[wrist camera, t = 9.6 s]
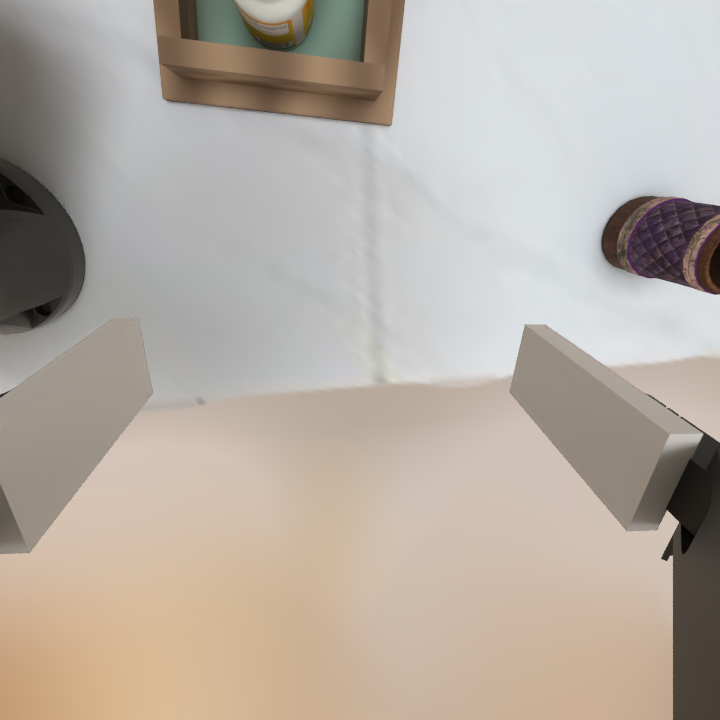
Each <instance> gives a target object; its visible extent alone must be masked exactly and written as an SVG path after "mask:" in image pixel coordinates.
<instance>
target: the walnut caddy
mask: <svg viewBox="0 0 720 720" xmlns="http://www.w3.org/2000/svg"><path fill="white" fill-rule="evenodd" d="M153 2H154V12H155V23H156V33H157V43H158V54H159V64H160V74H161V85H162V95H163V99H165V100H168V101H177V102H186V103H195V104H203V105H212V106H221V107H230V108H239V109H247V110H256V111H265V112H274V113H283V114H292V115H300V116H309V117H318V118H327V119H336V120H344V121H353V122H362V123H371V124H380V125H389V126H390V125H392V116H393V107H394V97H395V88H396V79H397V69H398V60H399V50H400V41H401V32H402V22H403V13H404V3H405V0H314V17H313V23H312V26H311V29H310V31H309V33H308V35H307V37H306V38H305V39H304V41H303V42H302V43H301V44H299V45H298V46H296V47H295V48H293V49H290V50H287V51H276V50H272V49H269V48H267V47H265V46H263V45H262V44H260V43H259V42H258V41H257V40H256V39H255V38H254V37H253V36H252V35H251V33H250V32H249V31H248V29H247V27H246V25H245V24H244V22H243V20H242V17H241V15H240V13H239V11H238V9H237V7H236V6H235V4H234V2H233V0H153Z"/></svg>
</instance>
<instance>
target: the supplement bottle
mask: <svg viewBox="0 0 720 720" xmlns="http://www.w3.org/2000/svg"><path fill="white" fill-rule="evenodd" d="M233 2H234V4H235V6H236V7H237V9H238V11H239V13H240V15H241V17H242V20H243V22H244V24H245V25H246V27H247V29H248V31H249V32H250V33H251V35H252V36H253V37H254V38H255V39H256V40H257V41H258V42H259V43H260V44H262V45H263V46H265V47H267V48H269V49H272V50H276V51H287V50H290V49H293V48H295V47H296V46H298V45H299V44H301V43H302V42H303V41H304V39H305V38H306V37H307V35H308V33H309V31H310V29H311V26H312V23H313V17H314V0H233Z"/></svg>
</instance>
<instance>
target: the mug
mask: <svg viewBox="0 0 720 720" xmlns="http://www.w3.org/2000/svg"><path fill="white" fill-rule="evenodd" d="M603 250H604V253H605V256H606V258H607V260H608V261H609V262H610V263H611V264H612V265H613V266H615V267H618V268H621V269H624V270H627V271H628V272H630V273H633V274H636V275H639V276H643V277H646V278H658V279H662V280H665V281H669V282H673V283H677V284H680V285H684V286H688V287H692V288H694V289H697V290H700V291H703V292H707V293H711V294H714V295H716V294H720V206H716V205H709V204H702V203H695V202H692V201H689V200H687V199H684V198H676V197H654V196H650V197H640V198H637V199H634V200H631V201H630V202H628V203H627V204H625V205H624V206H623V207H621V208H620V209H619V210H618V211H617V212H616V214H615V215H614V216H613V217H612V218H611V220H610V222H609V224H608V226H607V228H606V230H605V234H604V238H603Z"/></svg>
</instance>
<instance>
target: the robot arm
mask: <svg viewBox="0 0 720 720" xmlns="http://www.w3.org/2000/svg"><path fill="white" fill-rule="evenodd" d="M84 271H85V264H84V255H83V250H82V245H81V242H80V239H79V236H78V234H77V231H76V229H75V227H74V225H73V223H72V221H71V220H70V218H69V216H68V215H67V213H66V212H65V210H64V209H63V207H62V206H61V205H60V204H59V202H58V201H57V200H56V199H55V198H54V197H53V195H52V194H51V193H50V192H49V191H48V190H47V189H46V188H45V187H43V186H42V185H41V184H40V183H39V182H38V181H37V180H35V179H34V178H33V177H31V176H30V175H29V174H27V173H26V172H24V171H23V170H21V169H20V168H18V167H16V166H14V165H12V164H11V163H9V162H7V161H5V160H2V159H0V335H8V334H17V333H22V332H26V331H29V330H33V329H35V328H38V327H40V326H42V325H44V324H46V323H48V322H50V321H51V320H53V319H55V318H57V317H59V316H60V315H61V314H63V313H64V312H65V311H66V310H68V309H69V307H70V306H71V305H72V304H73V303H74V301H75V300H76V298H77V296H78V294H79V292H80V290H81V287H82V284H83V279H84ZM152 393H153V390H152V385H151V380H150V375H149V370H148V365H147V360H146V355H145V350H144V344H143V339H142V334H141V329H140V324H139V319H112V320H111V321H109V322H108V323H107V324H105V325H104V326H102V327H101V328H99V329H98V330H97V331H95V332H94V333H92V334H91V335H89V336H88V337H87V338H85V339H84V340H82V341H81V342H79V343H78V344H77V345H75V346H74V347H72V348H71V349H69V350H68V351H67V352H65V353H64V354H62V355H61V356H59V357H58V358H57V359H55V360H54V361H52V362H51V363H49V364H48V365H47V366H45V367H44V368H42V369H41V370H39V371H38V372H37V373H35V374H34V375H32V376H31V377H29V378H28V379H27V380H25V381H24V382H22V383H21V384H19V385H18V386H17V387H15V388H14V389H12V390H10V391H8V392H6V393H3V394H1V395H0V554H12V553H30V552H31V550H32V549H33V548H34V547H35V545H36V544H37V543H38V541H39V540H40V539H41V537H42V536H43V535H44V534H45V532H46V531H47V530H48V528H49V527H50V526H51V524H52V523H53V522H54V520H55V519H56V518H57V517H58V515H59V514H60V513H61V511H62V510H63V509H64V507H65V506H66V505H67V504H68V502H69V501H70V500H71V498H72V497H73V496H74V495H75V493H76V492H77V491H78V489H79V488H80V487H81V486H82V484H83V483H84V482H85V480H86V479H87V477H88V476H89V475H90V474H91V472H92V471H93V470H94V469H95V467H96V466H97V465H98V464H99V462H100V461H101V460H102V458H103V457H104V456H105V454H106V453H107V452H108V451H109V449H110V448H111V447H112V445H113V444H114V443H115V441H116V440H117V439H118V438H119V436H120V435H121V434H122V432H123V431H124V430H125V428H126V427H127V426H128V425H129V423H130V422H131V421H132V419H133V418H134V417H135V416H136V414H137V413H138V412H139V410H140V409H141V408H142V406H143V405H144V404H145V403H146V401H147V400H148V399H149V397H150V396H151V395H152ZM510 393H511V394H512V396H513V397H514V398H515V399H516V400H517V402H518V403H519V404H520V405H521V406H522V408H523V409H524V410H525V411H526V412H527V414H528V415H529V416H530V417H531V418H532V419H533V420H534V422H535V423H536V424H537V425H538V427H539V428H540V429H541V430H542V431H543V433H545V435H546V436H547V437H548V438H549V440H550V441H551V442H552V443H553V444H554V445H555V447H556V448H557V449H558V450H559V451H560V453H561V454H562V455H563V456H564V457H565V459H566V460H567V461H568V462H569V463H570V464H571V466H572V467H573V468H574V469H575V470H576V471H577V473H578V474H579V475H580V476H581V478H582V479H583V480H584V481H585V482H586V483H587V485H588V486H589V487H590V488H591V489H592V490H593V492H594V493H595V494H596V495H597V496H598V498H599V499H600V500H601V501H602V502H603V504H604V505H605V506H606V507H607V508H608V510H609V511H610V512H611V513H612V514H613V515H614V517H615V518H616V519H617V520H618V521H619V523H620V524H621V525H622V526H623V527H624V528H625V530H626V531H649V530H657V529H658V527H659V525H660V523H661V521H662V519H663V517H664V515H665V513H666V511H667V510H668V511H669V512H670V513H671V514H672V515H673V516H674V517H675V518H676V519H677V520H678V521H679V524H678V526H677V528H676V530H675V532H674V534H673V536H672V538H671V540H670V542H669V544H668V546H667V547H666V549H665V551H664V554H663V556H662V558H661V559H663V560H665V561H667V560H668V558H669V556H671V555H673V720H720V443H719V442H718V441H716V440H715V439H714V438H712V437H711V436H709V435H708V434H706V433H705V432H703V431H702V430H700V429H699V428H697V427H696V426H694V425H693V424H692V423H690V422H689V421H687V420H686V419H684V418H683V417H679V415H678V414H677V413H675V412H674V411H673V410H671V409H670V408H666V406H665V405H664V404H662V403H661V402H659V401H658V400H656V399H655V398H654V397H652V396H650V395H648V394H646V393H644V392H642V391H641V390H639V389H638V388H637V387H635V386H634V385H632V384H631V383H629V382H628V381H626V380H625V379H623V378H622V377H621V376H619V375H617V374H616V373H615V372H613V371H612V370H610V369H609V368H608V367H606V366H605V365H603V364H602V363H600V362H599V361H597V360H596V359H594V358H593V357H592V356H590V355H589V354H587V353H586V352H584V351H583V350H581V349H580V348H578V347H577V346H576V345H574V344H573V343H571V342H570V341H568V340H567V339H565V338H564V337H563V336H561V335H560V334H558V333H557V332H555V331H554V330H552V329H551V328H549V327H548V326H547V325H526V324H525V327H524V331H523V335H522V340H521V344H520V348H519V353H518V357H517V362H516V366H515V370H514V375H513V379H512V383H511V388H510Z"/></svg>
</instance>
